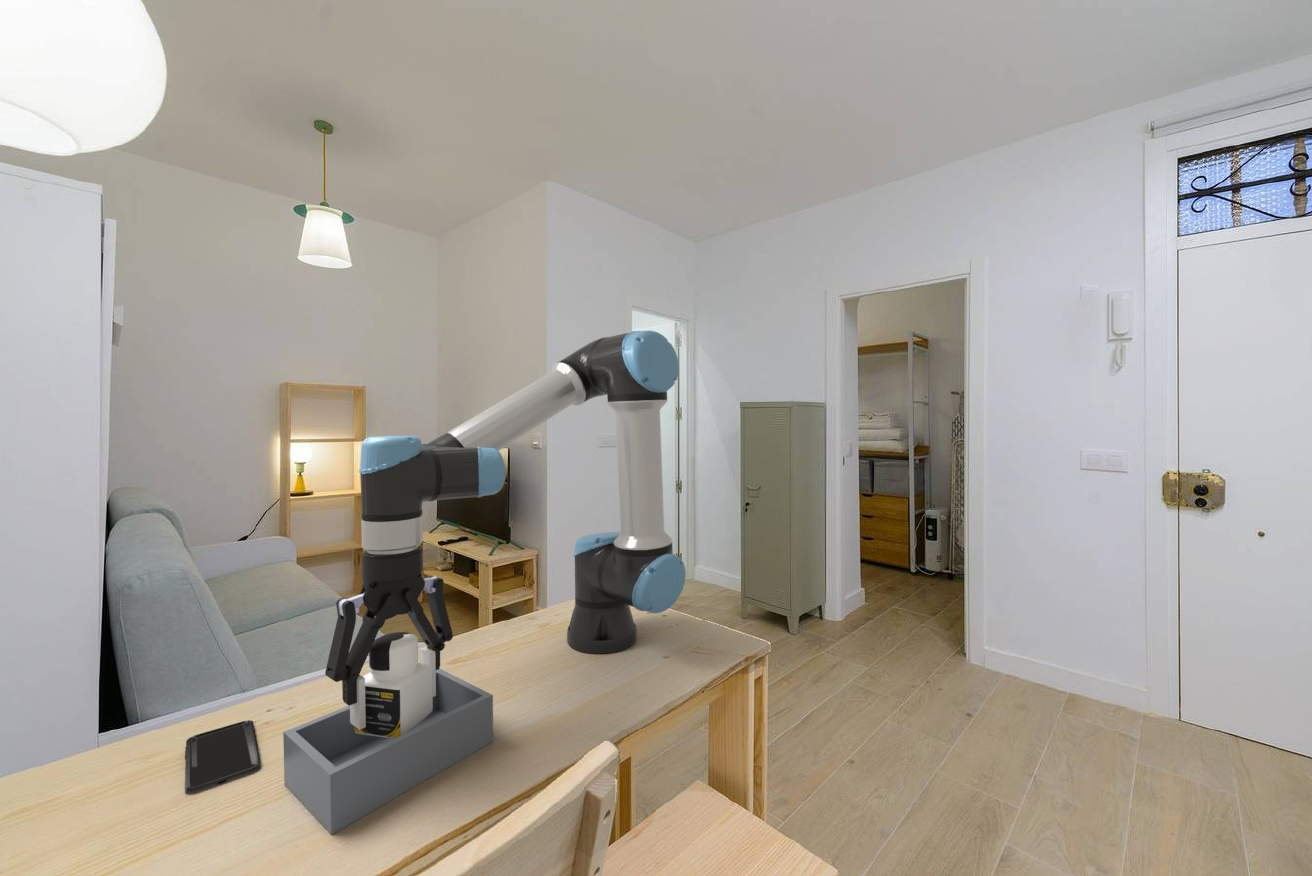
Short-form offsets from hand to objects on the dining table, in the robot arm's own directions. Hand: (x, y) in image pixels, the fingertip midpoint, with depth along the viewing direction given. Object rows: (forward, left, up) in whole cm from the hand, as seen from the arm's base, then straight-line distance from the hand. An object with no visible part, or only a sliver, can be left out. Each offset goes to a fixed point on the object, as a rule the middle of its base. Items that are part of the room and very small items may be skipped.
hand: (395, 708), depth 73 cm
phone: (+14, -21, -8) cm, 27 cm away
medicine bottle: (0, 0, -2) cm, 2 cm away
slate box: (0, 0, -7) cm, 7 cm away
